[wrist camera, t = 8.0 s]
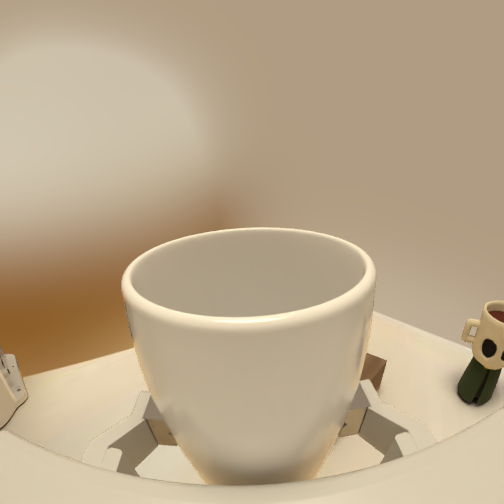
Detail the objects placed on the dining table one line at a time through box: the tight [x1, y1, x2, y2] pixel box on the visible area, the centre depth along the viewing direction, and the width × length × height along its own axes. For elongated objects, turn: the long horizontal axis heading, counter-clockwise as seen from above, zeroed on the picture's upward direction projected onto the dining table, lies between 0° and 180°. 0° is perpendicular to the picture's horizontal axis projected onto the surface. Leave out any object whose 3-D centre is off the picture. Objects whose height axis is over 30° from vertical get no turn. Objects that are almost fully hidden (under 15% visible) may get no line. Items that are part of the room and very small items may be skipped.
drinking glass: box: [121, 228, 376, 486], centre depth 10 cm, size 7×7×15 cm
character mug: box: [458, 300, 504, 404], centre depth 23 cm, size 11×7×13 cm, turn 49°
